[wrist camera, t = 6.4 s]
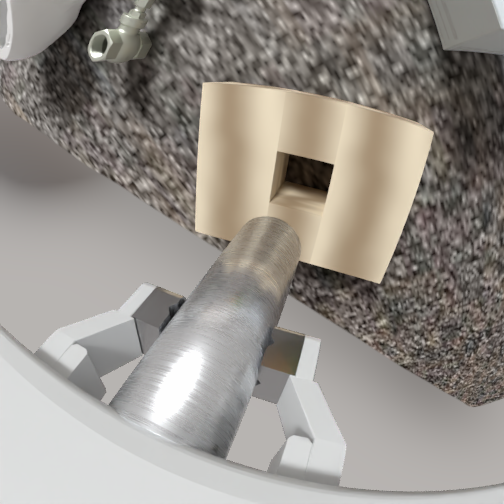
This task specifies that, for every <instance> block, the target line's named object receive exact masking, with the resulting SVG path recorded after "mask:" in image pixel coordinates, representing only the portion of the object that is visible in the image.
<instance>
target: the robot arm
mask: <svg viewBox="0 0 504 504" xmlns="http://www.w3.org/2000/svg"><path fill="white" fill-rule="evenodd" d="M185 301H186V298H185V297H184V296H181V295H178V294H176V293H173V292H171V291H168V290H166V289H163V288H161V287H158V286H155V285H153V284H150V283H148V282H146V283H144V284H142V285H141V286H140V287H139V288H138V289H137V290H136V291H135V292H134V294H133V295H132V296H131V297H130V298H129V299H128V300H127V301H126V302H125V303H124V304H123V306H122V307H121V308H120V309H119V310H118V311H117V310H111V311H108V312H106V313H103V314H100V315H97V316H94V317H91V318H88V319H86V320H83V321H79V322H77V323H74V324H71V325H68V326H65V327H62V328H59V329H57V330H56V331H55V332H54V333H53V334H52V335H51V336H50V337H49V338H48V339H47V340H46V341H45V342H44V344H43V345H42V346H41V347H40V348H39V349H38V350H37V351H36V352H35V353H34V354H33V353H32V352H31V351H30V350H28V349H27V348H26V347H25V346H24V345H22V344H21V343H20V342H19V341H18V340H17V339H16V338H14V337H13V336H12V335H11V334H10V333H9V332H8V331H7V330H6V329H4V328H3V327H2V326H1V325H0V504H504V483H501V484H496V485H490V486H484V487H477V488H468V489H459V490H447V491H426V492H425V491H424V492H403V491H379V490H366V489H356V488H347V487H340V486H339V482H340V478H341V473H342V468H343V463H344V458H345V452H346V446H347V445H346V443H345V440H344V438H343V436H342V434H341V432H340V430H339V427H338V425H337V423H336V421H335V418H334V416H333V414H332V412H331V410H330V408H329V405H328V404H327V401H326V399H325V397H324V394H323V392H322V390H321V388H320V386H319V384H318V383H317V382H314V376H315V371H316V367H317V362H318V357H319V351H320V346H321V339H320V338H316V337H312V336H308V335H304V334H301V333H298V332H294V331H290V330H287V329H284V328H280V327H277V326H275V327H274V329H273V332H272V334H271V337H270V341H269V346H268V347H267V348H266V351H265V354H264V356H263V359H262V362H261V365H260V368H259V371H258V380H257V382H256V385H255V388H254V390H253V393H252V396H254V397H256V398H259V399H263V400H265V401H268V402H272V403H275V404H277V409H278V412H279V416H280V419H281V423H282V427H283V430H284V434H285V437H286V442H285V443H284V444H283V446H282V447H281V448H280V450H279V451H278V452H277V454H276V455H275V456H274V458H273V459H272V460H271V462H270V465H269V468H268V471H267V472H266V471H262V470H258V469H255V468H252V467H248V466H245V465H242V464H238V463H235V462H232V461H229V460H226V459H223V458H221V457H218V456H215V455H212V454H210V453H207V452H204V451H202V450H199V449H197V448H193V447H189V446H183V445H179V444H177V443H175V442H173V441H170V440H168V439H166V438H164V437H162V436H159V435H157V434H155V433H153V432H151V431H149V430H147V429H145V428H143V427H141V426H139V425H137V424H135V423H133V422H132V421H130V420H128V419H126V418H124V417H122V416H121V415H119V414H118V413H117V411H116V410H115V409H114V408H112V407H110V406H109V405H106V404H105V403H103V402H102V401H101V399H102V398H103V396H104V395H105V393H106V388H105V386H104V384H103V383H102V381H101V379H100V377H102V376H104V375H106V374H108V373H110V372H111V371H113V370H115V369H117V368H119V367H121V366H123V365H125V364H127V363H129V362H130V361H132V360H134V359H136V358H138V357H140V356H142V354H144V355H145V354H146V353H147V351H148V350H149V349H150V347H151V346H152V345H153V343H154V342H155V341H156V339H157V338H158V337H159V335H160V334H161V332H162V331H163V330H164V328H165V327H166V326H167V324H168V323H169V322H170V320H171V319H172V318H173V316H174V315H175V314H176V312H177V311H178V310H179V309H180V307H181V306H182V305H183V303H184V302H185Z"/></svg>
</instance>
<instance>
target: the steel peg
mask: <svg viewBox="0 0 504 504" xmlns="http://www.w3.org/2000/svg"><path fill="white" fill-rule="evenodd" d="M300 256H301V243H300V239H299V237H298V235H297V233H296V232H295V230H294V229H293V228H292V227H291V226H290V225H289V224H287V223H286V222H284V221H283V220H280V219H278V218H275V217H270V216H261V217H256V218H253V219H251V220H249V221H248V222H247V223H246V224H245V225H244V226H243V227H242V228H241V229H240V231H239V232H238V233H237V235H236V236H235V237H234V238H233V240H232V241H231V242H230V243H229V245H228V246H227V247H226V249H225V250H224V251H223V252H222V254H221V255H220V257H219V258H218V259H217V260H216V261H215V263H214V264H213V265H212V267H211V268H210V269H209V271H208V272H207V274H206V275H205V276H204V277H203V278H202V280H201V281H200V282H199V284H198V285H197V286H196V287H195V289H194V290H193V291H192V293H191V294H190V295H189V297H188V298H187V299H186V301H185V302H184V303H183V305H182V306H181V307H180V309H179V310H178V311H177V312H176V314H175V315H174V316H173V318H172V319H171V320H170V322H169V323H168V324H167V326H166V327H165V328H164V330H163V331H162V332H161V334H160V335H159V337H158V338H157V339H156V341H155V342H154V343H153V345H152V346H151V347H150V349H149V350H148V351H147V353H146V354H145V355H144V357H143V358H142V360H141V361H140V362H139V364H138V365H137V367H136V368H135V369H134V371H133V372H132V373H131V375H130V376H129V377H128V379H127V380H126V381H125V383H124V384H123V386H122V387H121V388H120V390H119V391H118V393H117V394H116V395H115V397H114V398H113V400H112V401H111V402H110V404H109V406H110V407H112V408H114V409H115V410H116V411H117V413H118V414H119V415H121V416H122V417H124V418H126V419H128V420H130V421H132V422H133V423H135V424H137V425H139V426H141V427H143V428H145V429H147V430H149V431H151V432H153V433H155V434H157V435H159V436H162V437H164V438H166V439H168V440H170V441H173V442H175V443H177V444H179V445H183V446H189V447H193V448H197V449H199V450H202V451H204V452H207V453H210V454H212V455H215V456H218V457H221V458H223V459H226V457H227V455H228V452H229V450H230V448H231V445H232V443H233V441H234V438H235V436H236V433H237V431H238V428H239V426H240V423H241V421H242V418H243V416H244V413H245V411H246V408H247V406H248V403H249V401H250V398H251V395H252V393H253V390H254V388H255V385H256V382H257V380H258V371H259V368H260V365H261V362H262V359H263V356H264V354H265V351H266V348H267V347H268V346H269V341H270V337H271V334H272V332H273V329H274V327H275V326H277V324H278V321H279V319H280V316H281V313H282V310H283V307H284V304H285V301H286V298H287V295H288V292H289V289H290V286H291V283H292V280H293V277H294V274H295V271H296V268H297V265H298V262H299V259H300Z"/></svg>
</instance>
